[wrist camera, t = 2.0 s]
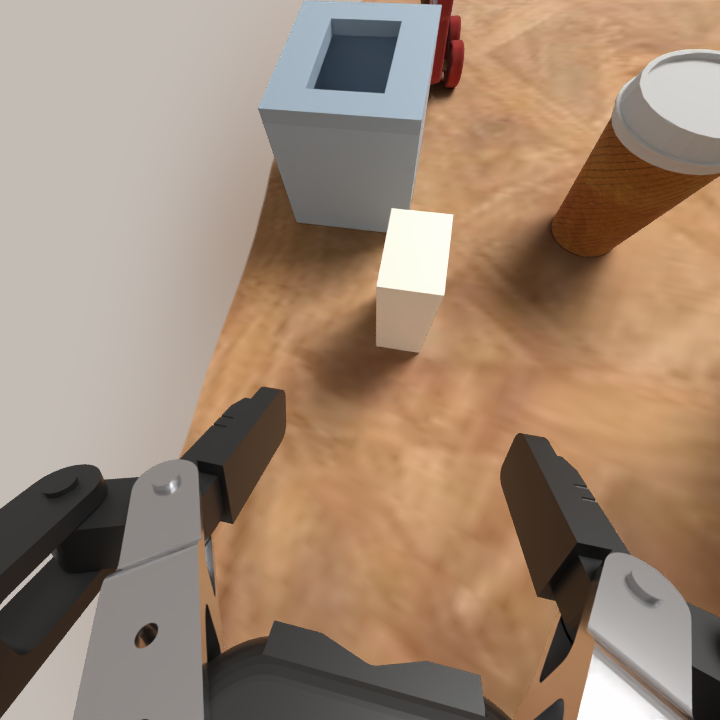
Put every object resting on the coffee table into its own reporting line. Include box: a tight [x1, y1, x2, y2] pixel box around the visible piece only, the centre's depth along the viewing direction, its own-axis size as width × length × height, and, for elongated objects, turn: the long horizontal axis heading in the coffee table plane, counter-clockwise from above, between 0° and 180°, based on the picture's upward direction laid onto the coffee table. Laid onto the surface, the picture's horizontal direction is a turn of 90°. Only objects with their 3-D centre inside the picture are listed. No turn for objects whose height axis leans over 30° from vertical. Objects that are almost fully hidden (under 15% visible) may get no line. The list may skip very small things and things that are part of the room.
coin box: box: [258, 1, 442, 233], centre depth 28 cm, size 14×12×11 cm
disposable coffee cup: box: [552, 49, 720, 257], centre depth 24 cm, size 10×10×12 cm
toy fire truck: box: [421, 0, 464, 88], centre depth 34 cm, size 7×12×10 cm, turn 179°
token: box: [376, 208, 453, 353], centre depth 23 cm, size 6×4×10 cm, turn 169°
